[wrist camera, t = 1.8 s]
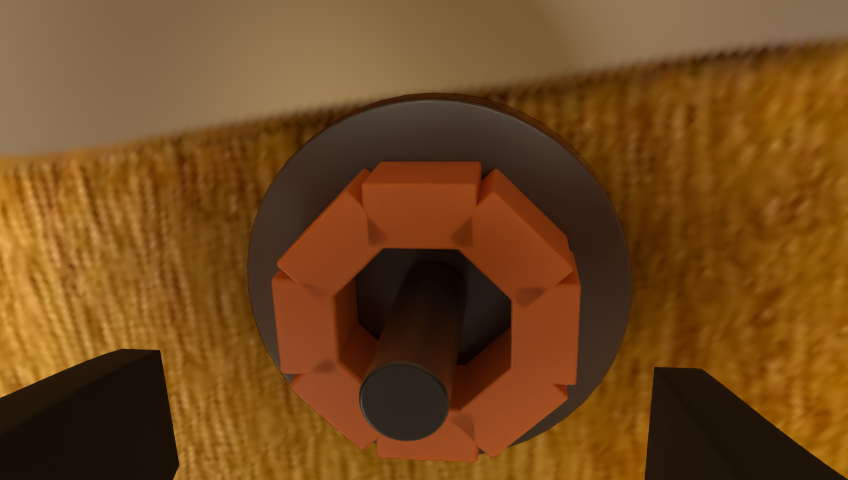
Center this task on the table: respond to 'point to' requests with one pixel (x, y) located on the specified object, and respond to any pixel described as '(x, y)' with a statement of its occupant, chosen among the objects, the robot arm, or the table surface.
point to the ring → (432, 229)
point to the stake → (445, 253)
